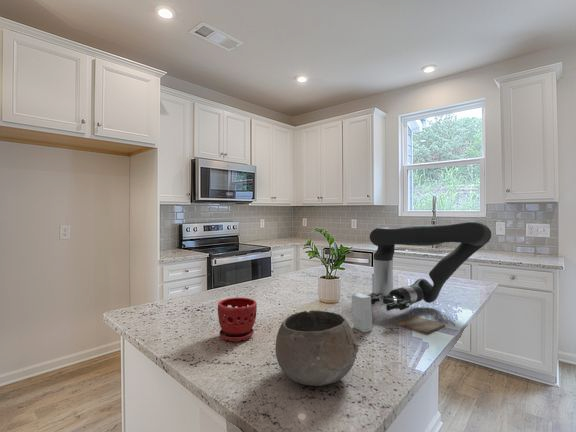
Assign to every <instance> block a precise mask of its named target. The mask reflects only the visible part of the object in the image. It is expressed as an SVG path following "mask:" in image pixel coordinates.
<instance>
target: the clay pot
mask: <svg viewBox="0 0 576 432" xmlns="http://www.w3.org/2000/svg"><path fill="white" fill-rule="evenodd" d="M274 349H275V358H276V361H277V363H278V365H279V368H280V370H281V371H282V372H283V373H284V375H286V377H288V378H289V380H290V379H291V380H292V381H293V382H294V383H297V384H301V385H304V386H311V387H312V386H314V387H318V386H322V387H323V386H326V385H330V384H334V383H336V382H339V381H340V380H341V379H343V378H344V377H345V376H346V375H347V374H348V373H349V372H350V371H351V369H352V368H353V366H354V364H355V362H356V359H357V353H358V352H359V345H358V344H357V341H356V337H355V334H354V332H353V329H352V327H351V325H350V323H349V322H348V320H347V319H346V318H345V317H344V316H343V315H341V314H339V313H336V312H333V311H332V312H331V311H324V310H312V309H311V310H309V311H306V310H303V311H300V312H296V313H293V314H291V315H289V316H287V317H286V318H285V319H284V320H283V322H282V323H281V324H280V326H279V328H278V331H277V335H276V339H275V348H274Z"/></svg>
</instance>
